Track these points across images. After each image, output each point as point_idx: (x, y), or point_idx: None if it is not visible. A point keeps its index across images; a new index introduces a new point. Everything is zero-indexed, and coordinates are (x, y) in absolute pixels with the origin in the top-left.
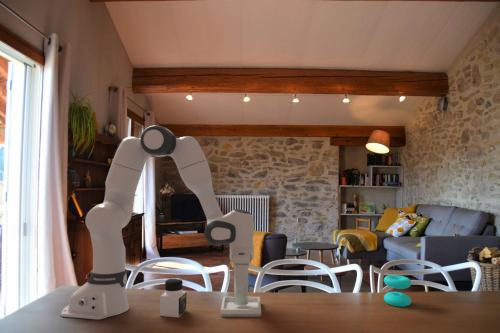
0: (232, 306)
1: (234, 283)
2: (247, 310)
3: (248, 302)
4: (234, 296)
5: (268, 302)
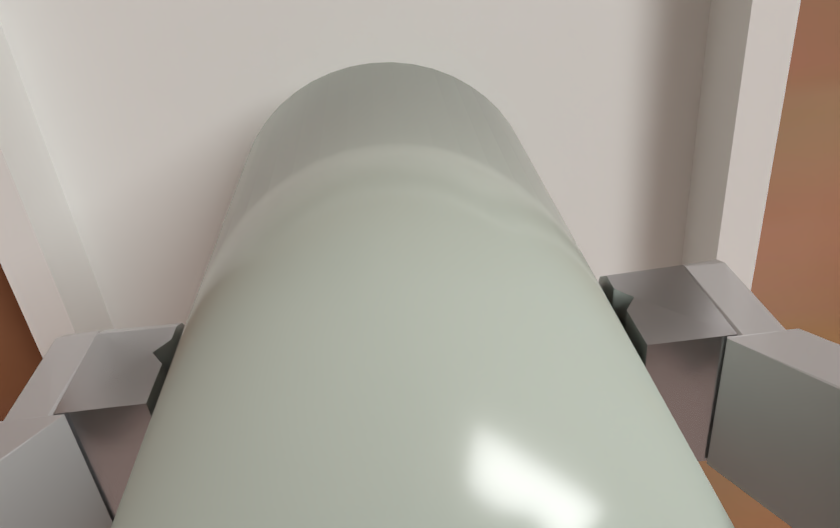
0: (391, 7)
1: (294, 336)
2: (49, 346)
3: (621, 269)
4: (309, 133)
5: (706, 471)
